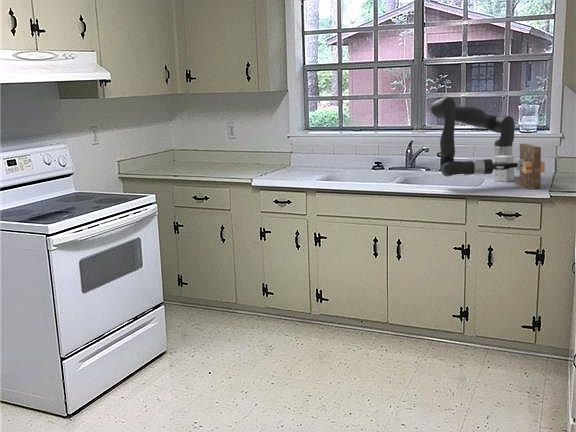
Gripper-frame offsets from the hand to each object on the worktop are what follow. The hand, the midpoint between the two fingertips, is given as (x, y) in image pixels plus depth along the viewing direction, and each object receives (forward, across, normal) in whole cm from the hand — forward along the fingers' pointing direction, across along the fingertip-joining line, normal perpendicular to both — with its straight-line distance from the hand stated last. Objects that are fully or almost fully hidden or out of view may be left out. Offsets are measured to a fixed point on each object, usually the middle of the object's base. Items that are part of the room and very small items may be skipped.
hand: (516, 165), depth 330 cm
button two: (+4, -11, +3) cm, 12 cm away
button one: (+5, 0, +2) cm, 5 cm away
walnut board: (+3, -5, +10) cm, 12 cm away
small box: (-1, +16, +10) cm, 19 cm away
